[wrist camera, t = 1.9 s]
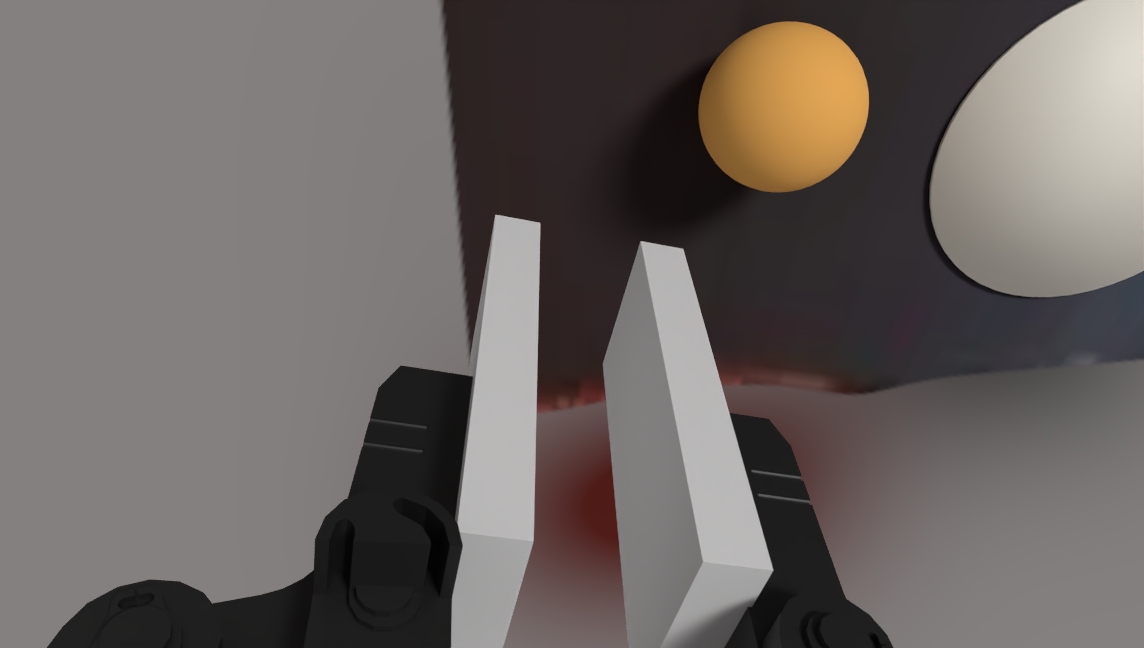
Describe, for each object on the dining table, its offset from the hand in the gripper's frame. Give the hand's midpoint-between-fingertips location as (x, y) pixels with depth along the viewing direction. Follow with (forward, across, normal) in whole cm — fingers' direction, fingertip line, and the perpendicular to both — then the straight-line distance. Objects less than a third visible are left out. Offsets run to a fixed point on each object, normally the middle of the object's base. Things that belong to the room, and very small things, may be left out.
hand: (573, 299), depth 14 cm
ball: (+14, +8, 0) cm, 16 cm away
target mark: (+16, +22, 0) cm, 27 cm away
